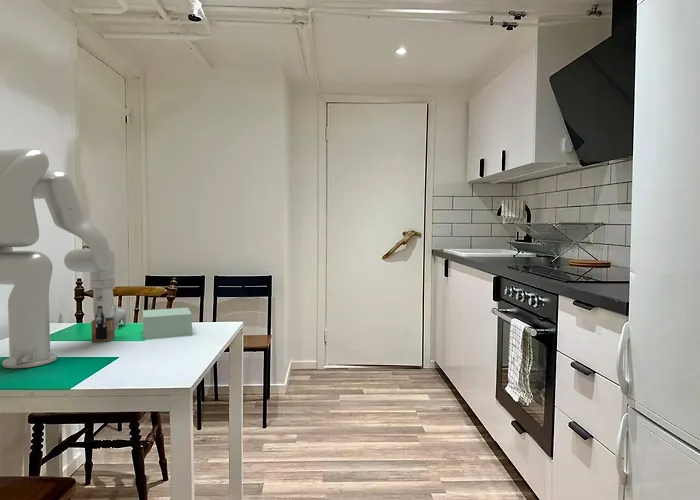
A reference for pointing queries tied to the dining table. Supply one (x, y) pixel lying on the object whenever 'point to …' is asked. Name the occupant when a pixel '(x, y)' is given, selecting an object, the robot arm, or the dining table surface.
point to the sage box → (167, 323)
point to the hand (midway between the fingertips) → (103, 336)
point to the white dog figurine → (119, 316)
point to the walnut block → (110, 330)
